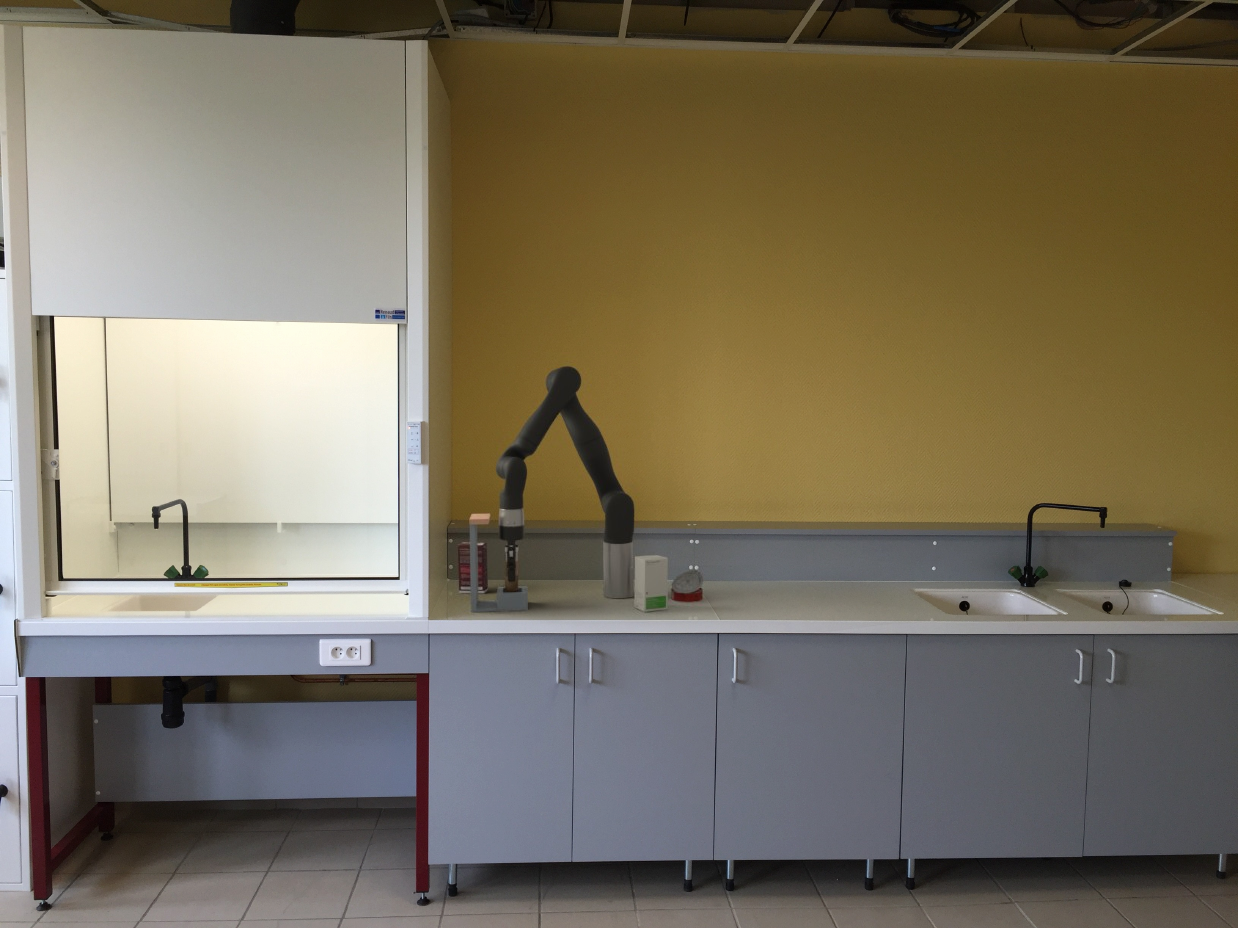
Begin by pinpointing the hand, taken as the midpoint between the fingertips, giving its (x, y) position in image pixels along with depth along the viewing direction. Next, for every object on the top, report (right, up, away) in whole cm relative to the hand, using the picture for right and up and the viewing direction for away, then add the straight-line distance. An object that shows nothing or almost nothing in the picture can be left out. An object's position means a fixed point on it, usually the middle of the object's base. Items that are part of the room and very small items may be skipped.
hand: (511, 579), depth 247 cm
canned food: (+53, -8, +10) cm, 55 cm away
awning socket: (-4, -8, 0) cm, 9 cm away
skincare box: (+42, -9, -2) cm, 43 cm away
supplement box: (-15, -7, +19) cm, 25 cm away
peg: (0, -4, 0) cm, 4 cm away
